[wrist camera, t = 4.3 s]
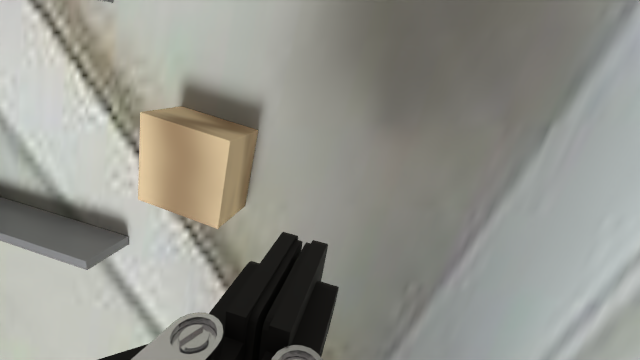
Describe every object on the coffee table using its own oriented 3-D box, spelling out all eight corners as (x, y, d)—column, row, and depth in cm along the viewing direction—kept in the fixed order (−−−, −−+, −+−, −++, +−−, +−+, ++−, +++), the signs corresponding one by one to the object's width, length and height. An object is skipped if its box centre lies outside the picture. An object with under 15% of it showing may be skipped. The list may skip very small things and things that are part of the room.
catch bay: (112, -11, 21) (49, -30, 17) (128, 244, 28) (87, 269, 24) (-68, -39, 23) (-155, -60, 20) (-11, 200, 30) (-68, 217, 27)
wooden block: (259, 129, 21) (230, 141, 18) (246, 204, 24) (217, 228, 20) (183, 106, 22) (140, 112, 19) (177, 180, 25) (138, 199, 21)
